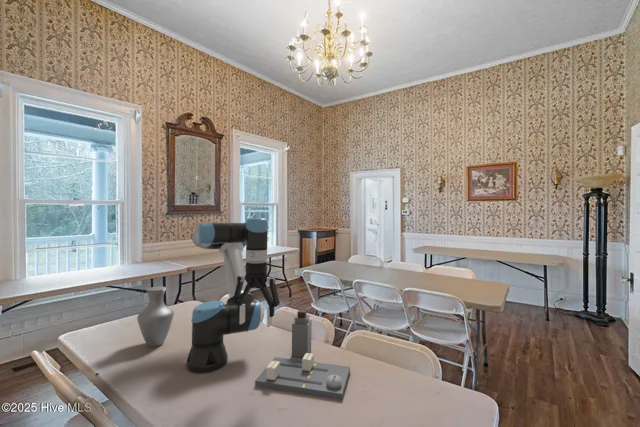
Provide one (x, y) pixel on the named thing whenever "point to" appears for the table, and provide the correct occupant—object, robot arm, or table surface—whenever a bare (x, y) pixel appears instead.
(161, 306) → the vase
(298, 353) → the perfume bottle
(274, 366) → the fader near
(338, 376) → the console
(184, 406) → the table surface
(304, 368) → the fader far
